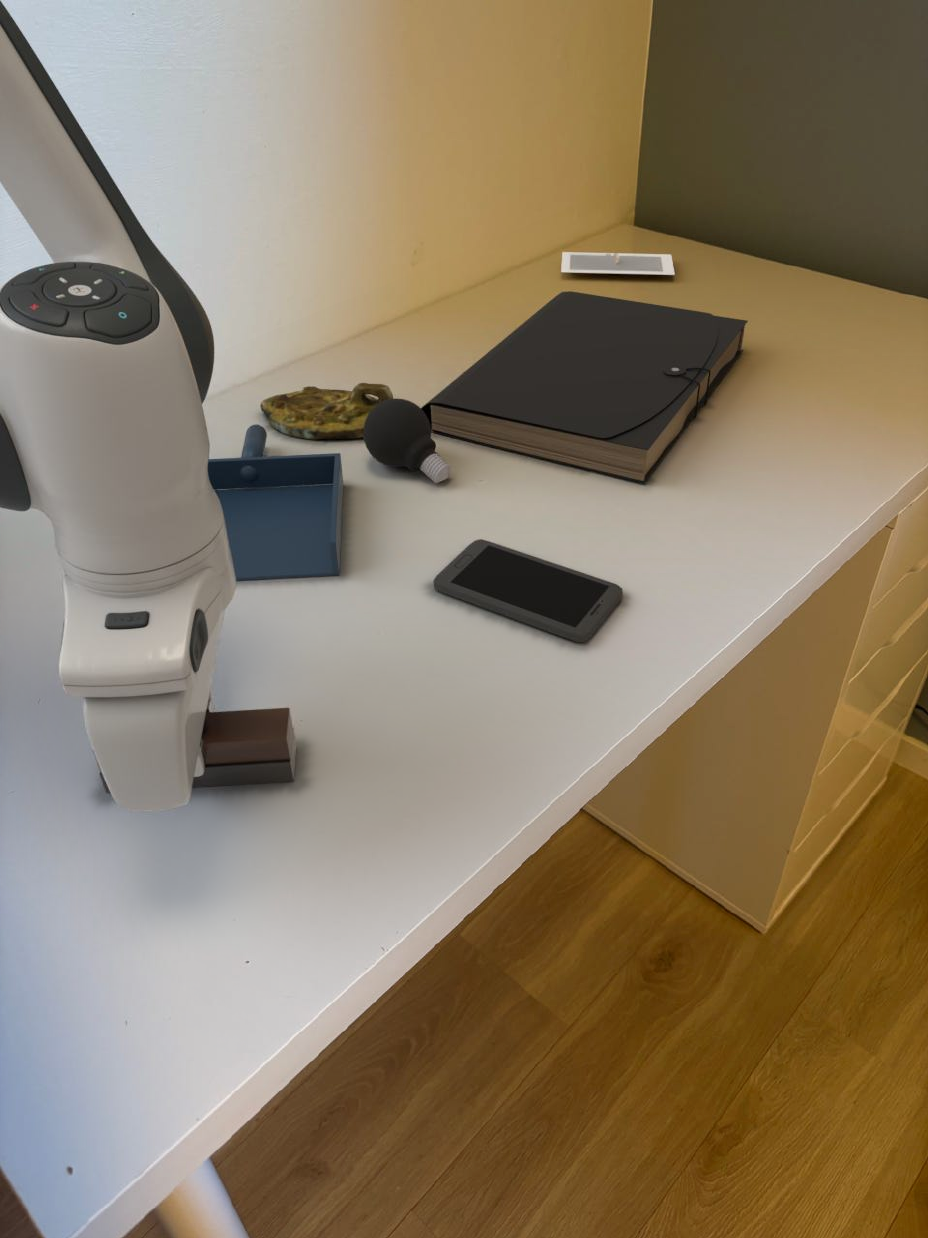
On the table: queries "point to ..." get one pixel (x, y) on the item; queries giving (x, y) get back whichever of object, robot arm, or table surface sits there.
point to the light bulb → (403, 438)
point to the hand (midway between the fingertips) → (196, 744)
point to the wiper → (246, 748)
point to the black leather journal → (592, 383)
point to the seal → (324, 411)
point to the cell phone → (529, 589)
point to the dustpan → (280, 511)
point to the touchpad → (617, 263)
